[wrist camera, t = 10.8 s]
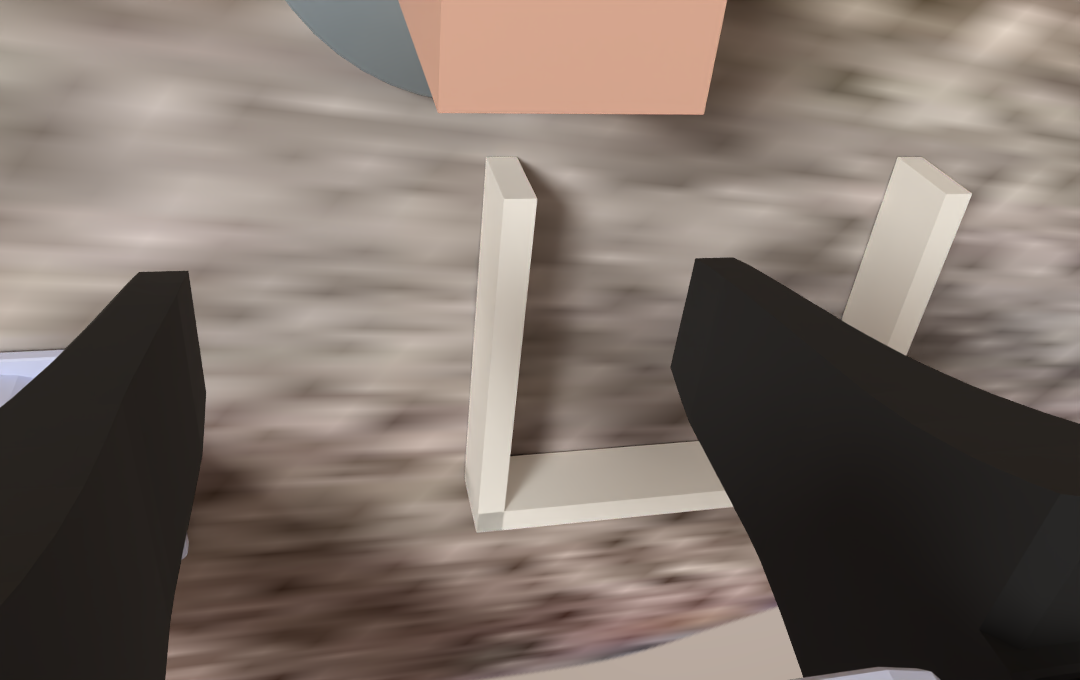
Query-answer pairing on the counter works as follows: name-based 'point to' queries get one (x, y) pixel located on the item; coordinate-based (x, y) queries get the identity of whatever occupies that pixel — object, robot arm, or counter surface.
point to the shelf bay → (675, 468)
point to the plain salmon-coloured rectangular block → (567, 54)
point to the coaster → (367, 38)
